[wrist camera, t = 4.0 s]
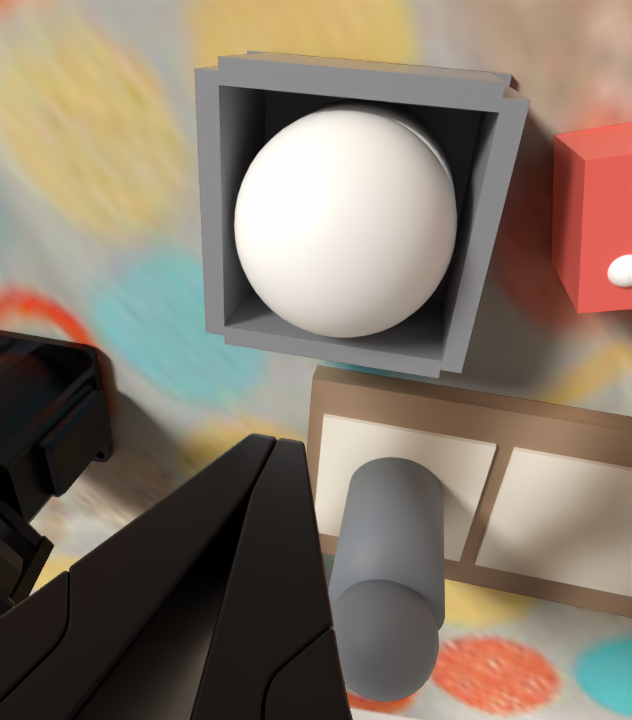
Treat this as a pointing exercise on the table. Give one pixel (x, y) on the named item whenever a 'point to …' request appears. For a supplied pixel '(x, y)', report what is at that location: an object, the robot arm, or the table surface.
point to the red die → (594, 217)
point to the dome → (347, 218)
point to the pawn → (389, 579)
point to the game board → (490, 481)
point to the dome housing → (302, 96)
